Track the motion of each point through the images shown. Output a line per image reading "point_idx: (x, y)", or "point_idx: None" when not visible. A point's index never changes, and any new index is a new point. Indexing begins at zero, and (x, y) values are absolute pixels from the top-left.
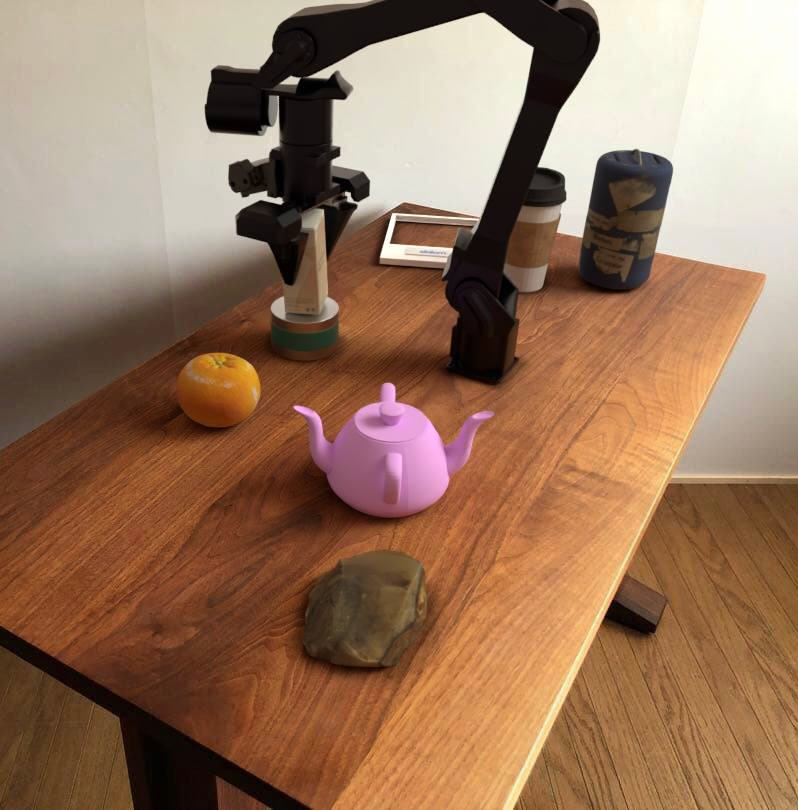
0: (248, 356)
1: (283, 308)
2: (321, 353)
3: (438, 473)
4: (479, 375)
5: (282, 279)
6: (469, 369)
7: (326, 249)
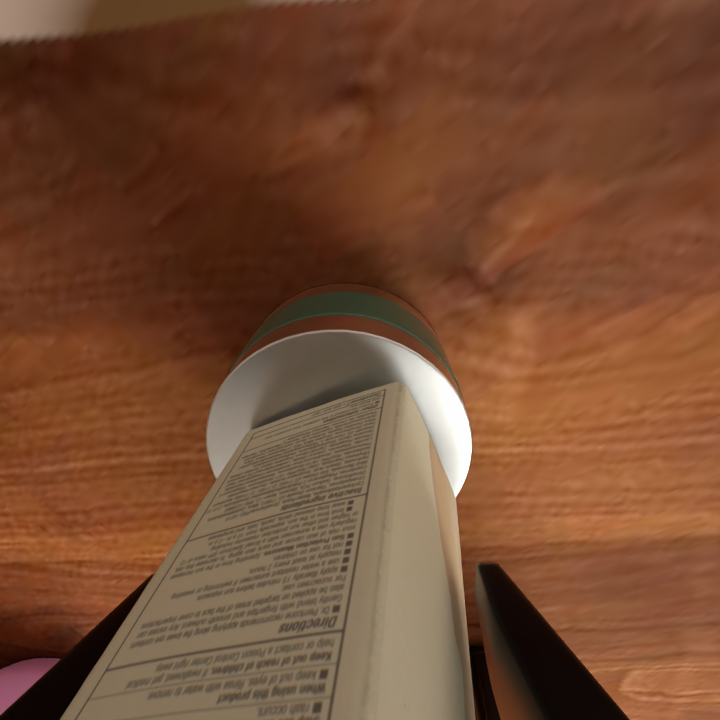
0: (178, 292)
1: (275, 401)
2: None
3: None
4: None
5: (167, 555)
6: None
7: (506, 716)
